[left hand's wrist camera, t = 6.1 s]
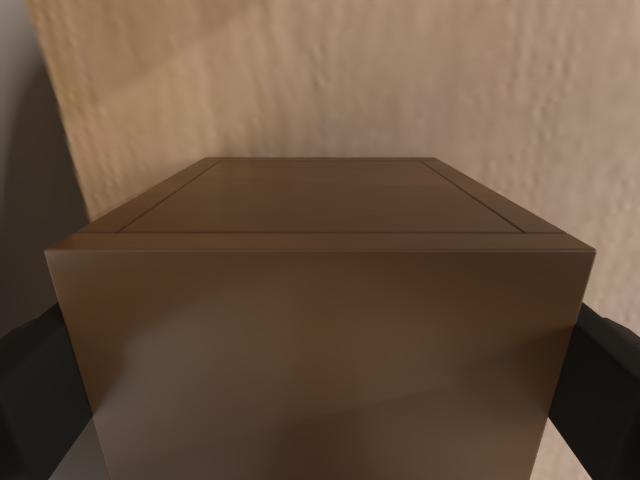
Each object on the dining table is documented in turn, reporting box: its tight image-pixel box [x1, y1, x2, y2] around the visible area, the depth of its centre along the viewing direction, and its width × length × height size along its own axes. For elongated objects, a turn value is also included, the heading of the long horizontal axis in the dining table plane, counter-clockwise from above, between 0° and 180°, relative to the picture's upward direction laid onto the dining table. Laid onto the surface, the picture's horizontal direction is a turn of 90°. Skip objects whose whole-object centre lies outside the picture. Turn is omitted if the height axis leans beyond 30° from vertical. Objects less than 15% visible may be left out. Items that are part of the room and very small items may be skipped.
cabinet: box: [44, 158, 597, 480], centre depth 16 cm, size 17×11×12 cm, turn 0°
